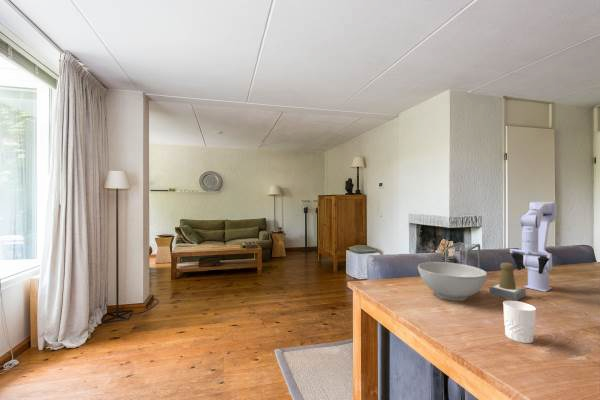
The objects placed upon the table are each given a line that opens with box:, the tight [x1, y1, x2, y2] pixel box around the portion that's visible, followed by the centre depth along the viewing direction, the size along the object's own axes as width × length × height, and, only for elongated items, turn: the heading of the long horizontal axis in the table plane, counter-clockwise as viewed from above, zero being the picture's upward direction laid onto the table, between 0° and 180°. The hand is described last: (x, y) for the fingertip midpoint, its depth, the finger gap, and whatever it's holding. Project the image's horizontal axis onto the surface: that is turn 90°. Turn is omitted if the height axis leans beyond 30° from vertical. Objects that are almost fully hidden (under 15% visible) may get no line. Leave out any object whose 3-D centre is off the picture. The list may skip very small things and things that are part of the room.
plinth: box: [489, 283, 527, 301], centre depth 121 cm, size 10×10×3 cm
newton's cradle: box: [444, 241, 481, 269], centre depth 148 cm, size 30×10×18 cm, turn 136°
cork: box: [498, 262, 517, 290], centre depth 121 cm, size 6×6×11 cm
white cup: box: [502, 300, 537, 344], centre depth 83 cm, size 8×8×10 cm
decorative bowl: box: [417, 261, 488, 302], centre depth 119 cm, size 27×27×12 cm
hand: (529, 271), depth 121 cm, fingers open, 7 cm apart
